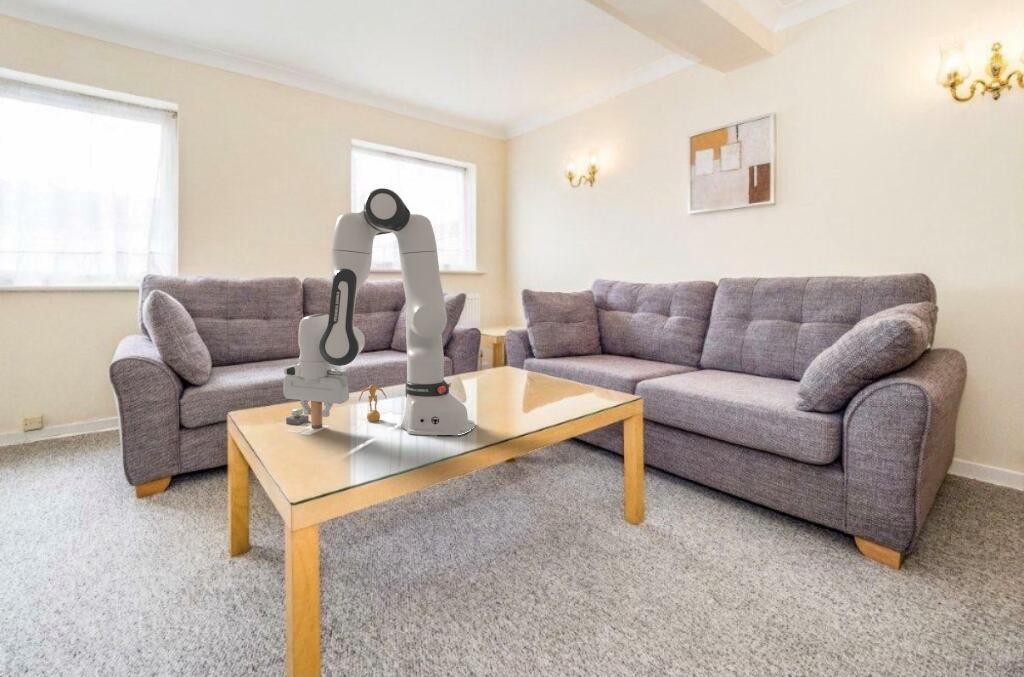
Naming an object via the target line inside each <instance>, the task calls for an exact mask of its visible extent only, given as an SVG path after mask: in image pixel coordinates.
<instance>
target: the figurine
mask: <svg viewBox="0 0 1024 677" xmlns="http://www.w3.org/2000/svg"><path fill="white" fill-rule="evenodd" d="M367 391H368V392H369V394H370V395H368V397H367V398H368V402H369V411H368V413H367V415H366V419H367V421H368V422H370V423H375V422H379V421H380V418H381V414H380V412H379V411H378V410H377V405H378V404H377V403H378V395H377V394H376V392H377V391H380V392H381V393H382V394H383V395H384V398H385V399H387V395H386V393H385V392H384V389H383V388H380V387H378V386H376V385H374V383H372V384H370V385H369V387H366V388H365V389H363V390H361V393H360V395H359V399H358V401H361V399H362V396H363V394H364V392H367ZM372 401H373V402H374V409H373V408H372V407H373V406H372V405H373V404H372Z"/></svg>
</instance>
